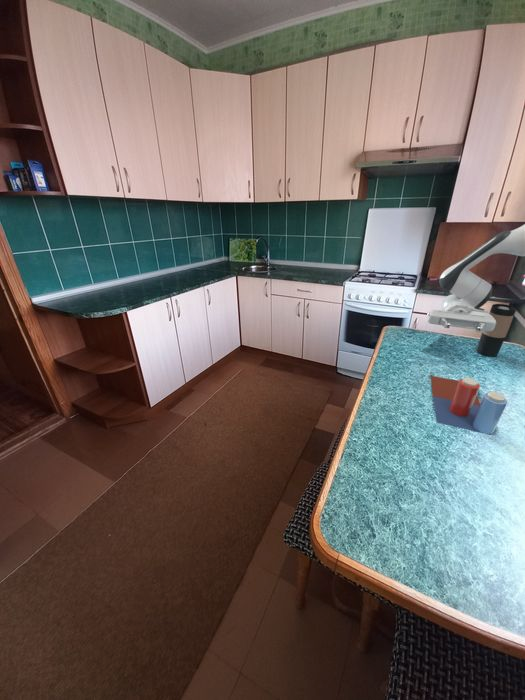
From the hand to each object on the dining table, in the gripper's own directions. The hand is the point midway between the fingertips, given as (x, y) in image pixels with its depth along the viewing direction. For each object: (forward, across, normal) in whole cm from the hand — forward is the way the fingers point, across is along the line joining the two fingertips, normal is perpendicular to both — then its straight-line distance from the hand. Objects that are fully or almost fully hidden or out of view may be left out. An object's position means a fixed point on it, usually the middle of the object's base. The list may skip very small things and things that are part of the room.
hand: (463, 328), depth 99 cm
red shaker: (+25, 0, +17) cm, 30 cm away
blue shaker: (+30, +5, +17) cm, 35 cm away
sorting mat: (+19, 0, +18) cm, 26 cm away
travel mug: (-23, +16, +18) cm, 33 cm away
